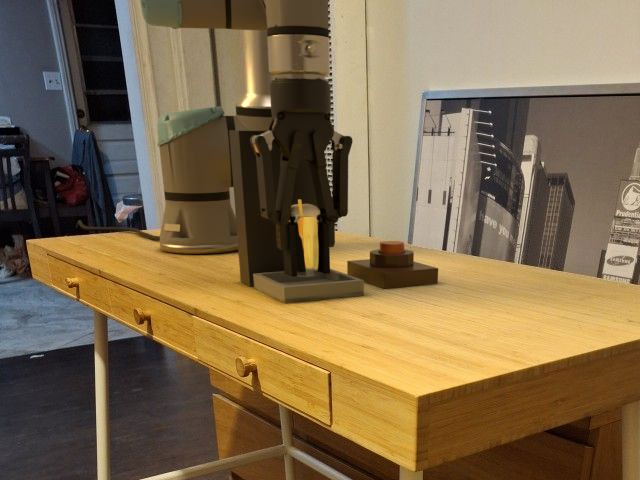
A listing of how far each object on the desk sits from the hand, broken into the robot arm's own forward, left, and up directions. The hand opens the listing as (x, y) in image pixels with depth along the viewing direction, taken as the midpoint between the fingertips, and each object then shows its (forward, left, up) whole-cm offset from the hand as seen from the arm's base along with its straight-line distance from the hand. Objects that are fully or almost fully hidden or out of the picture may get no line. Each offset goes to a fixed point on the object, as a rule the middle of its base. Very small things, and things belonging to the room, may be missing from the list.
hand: (307, 273), depth 104 cm
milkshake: (0, 0, 0) cm, 0 cm away
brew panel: (-3, +15, -2) cm, 15 cm away
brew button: (-3, +15, +1) cm, 15 cm away
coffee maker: (-3, 0, -2) cm, 4 cm away
